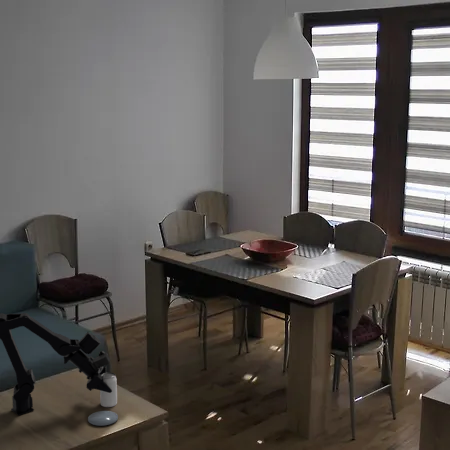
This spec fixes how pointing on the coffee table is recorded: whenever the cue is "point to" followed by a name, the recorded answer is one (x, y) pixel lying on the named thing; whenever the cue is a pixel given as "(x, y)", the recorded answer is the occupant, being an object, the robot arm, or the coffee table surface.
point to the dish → (102, 418)
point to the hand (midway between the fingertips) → (112, 388)
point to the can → (106, 397)
